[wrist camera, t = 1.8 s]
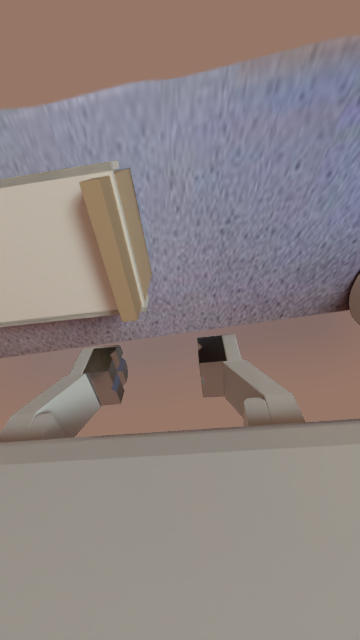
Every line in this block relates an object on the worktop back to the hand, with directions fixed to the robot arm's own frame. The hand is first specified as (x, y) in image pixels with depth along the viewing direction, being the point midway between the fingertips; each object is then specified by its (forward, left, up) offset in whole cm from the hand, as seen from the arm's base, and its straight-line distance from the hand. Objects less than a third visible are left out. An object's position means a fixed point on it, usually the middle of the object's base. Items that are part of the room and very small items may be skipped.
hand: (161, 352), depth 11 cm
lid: (+13, 0, -18) cm, 22 cm away
